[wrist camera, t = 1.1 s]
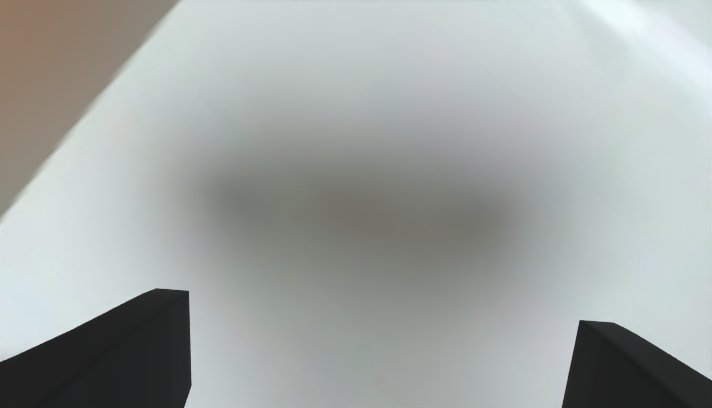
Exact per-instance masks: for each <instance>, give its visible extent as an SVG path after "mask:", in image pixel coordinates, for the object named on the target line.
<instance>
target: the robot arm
mask: <svg viewBox="0 0 712 408" xmlns="http://www.w3.org/2000/svg"><path fill="white" fill-rule="evenodd" d="M190 389H191V350H190V314H189V291H184V290H171V289H157V288H156V289H154V290H151V291H148V292H146V293H144V294H141V295H139V296H137V297H135V298H133V299H131V300H129V301H127V302H125V303H123V304H121V305H119V306H117V307H115V308H113V309H111V310H109V311H108V312H106V313H104V314H102V315H100V316H98V317H96V318H94V319H92V320H90V321H88V322H86V323H84V324H82V325H80V326H78V327H76V328H74V329H72V330H70V331H68V332H66V333H64V334H62V335H59V336H57V337H55V338H53V339H51V340H49V341H46V342H44V343H42V344H40V345H38V346H36V347H33V348H31V349H29V350H27V351H25V352H23V353H20V354H18V355H16V356H14V357H11V358H9V359H7V360H4V361H2V362H0V408H184V406H185V403H186V400H187V397H188V394H189V391H190ZM562 408H712V380H710V379H709V378H707V377H705V376H704V375H702V374H700V373H699V372H697V371H695V370H694V369H692V368H690V367H689V366H687V365H686V364H684V363H682V362H681V361H679V360H678V359H676V358H674V357H673V356H671V355H670V354H668V353H666V352H665V351H663V350H661V349H660V348H658V347H657V346H655V345H653V344H652V343H650V342H648V341H647V340H645V339H643V338H642V337H640V336H638V335H637V334H635V333H633V332H631V331H629V330H628V329H626V328H624V327H622V326H620V325H617V324H615V323H611V322H598V321H584V320H580V321H579V326H578V331H577V336H576V341H575V346H574V351H573V356H572V361H571V365H570V370H569V375H568V380H567V385H566V390H565V395H564V400H563V405H562Z"/></svg>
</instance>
